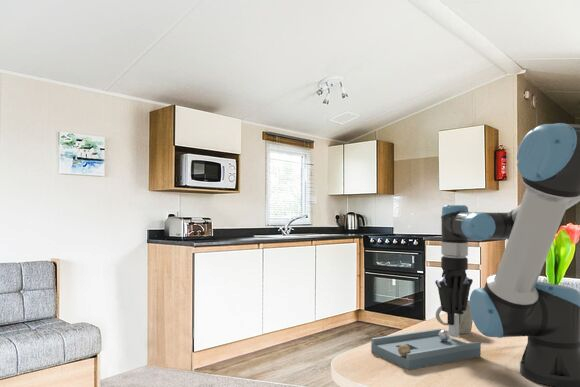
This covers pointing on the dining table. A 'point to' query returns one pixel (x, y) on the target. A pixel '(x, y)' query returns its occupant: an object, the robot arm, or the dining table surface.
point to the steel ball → (443, 335)
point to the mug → (465, 320)
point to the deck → (424, 349)
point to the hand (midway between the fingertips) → (453, 335)
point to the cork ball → (404, 350)
